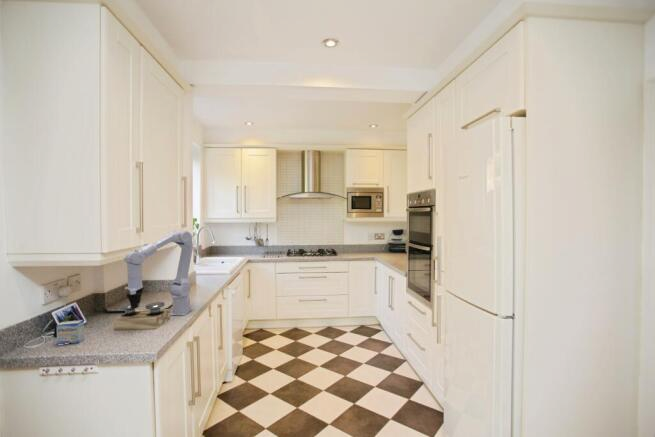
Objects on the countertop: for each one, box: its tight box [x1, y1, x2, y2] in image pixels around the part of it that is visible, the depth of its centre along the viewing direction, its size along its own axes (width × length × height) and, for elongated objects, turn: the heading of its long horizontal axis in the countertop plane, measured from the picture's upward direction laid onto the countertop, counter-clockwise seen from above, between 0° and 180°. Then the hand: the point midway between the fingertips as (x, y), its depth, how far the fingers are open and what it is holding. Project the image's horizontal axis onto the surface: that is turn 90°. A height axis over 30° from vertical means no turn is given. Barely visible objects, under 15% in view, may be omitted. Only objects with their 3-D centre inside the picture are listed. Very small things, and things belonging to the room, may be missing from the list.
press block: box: [113, 308, 171, 331], centre depth 147 cm, size 13×19×5 cm
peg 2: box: [145, 301, 165, 315], centre depth 147 cm, size 8×8×5 cm
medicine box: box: [56, 319, 85, 345], centre depth 127 cm, size 8×4×9 cm, turn 106°
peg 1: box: [119, 302, 141, 316], centre depth 147 cm, size 8×8×5 cm
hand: (135, 305), depth 143 cm, fingers open, 7 cm apart
